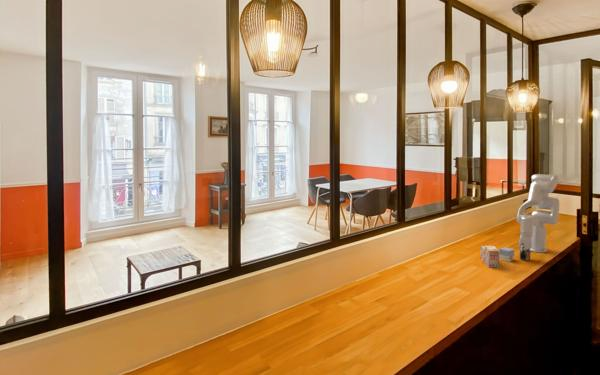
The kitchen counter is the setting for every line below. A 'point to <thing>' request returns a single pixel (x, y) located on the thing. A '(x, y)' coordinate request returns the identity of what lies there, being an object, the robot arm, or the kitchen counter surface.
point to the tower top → (506, 251)
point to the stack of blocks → (490, 256)
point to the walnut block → (526, 255)
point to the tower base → (506, 258)
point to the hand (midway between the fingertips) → (524, 257)
